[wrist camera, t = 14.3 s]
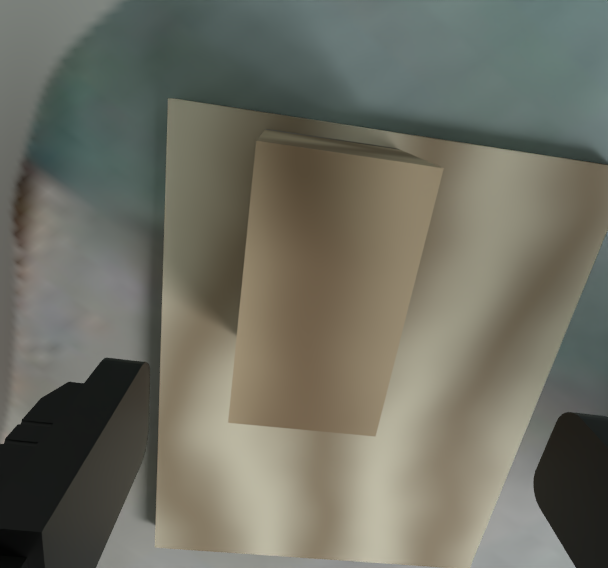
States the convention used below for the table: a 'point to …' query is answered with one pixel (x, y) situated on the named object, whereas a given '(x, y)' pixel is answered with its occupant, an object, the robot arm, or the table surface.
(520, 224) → the board
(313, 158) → the block
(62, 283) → the table surface
